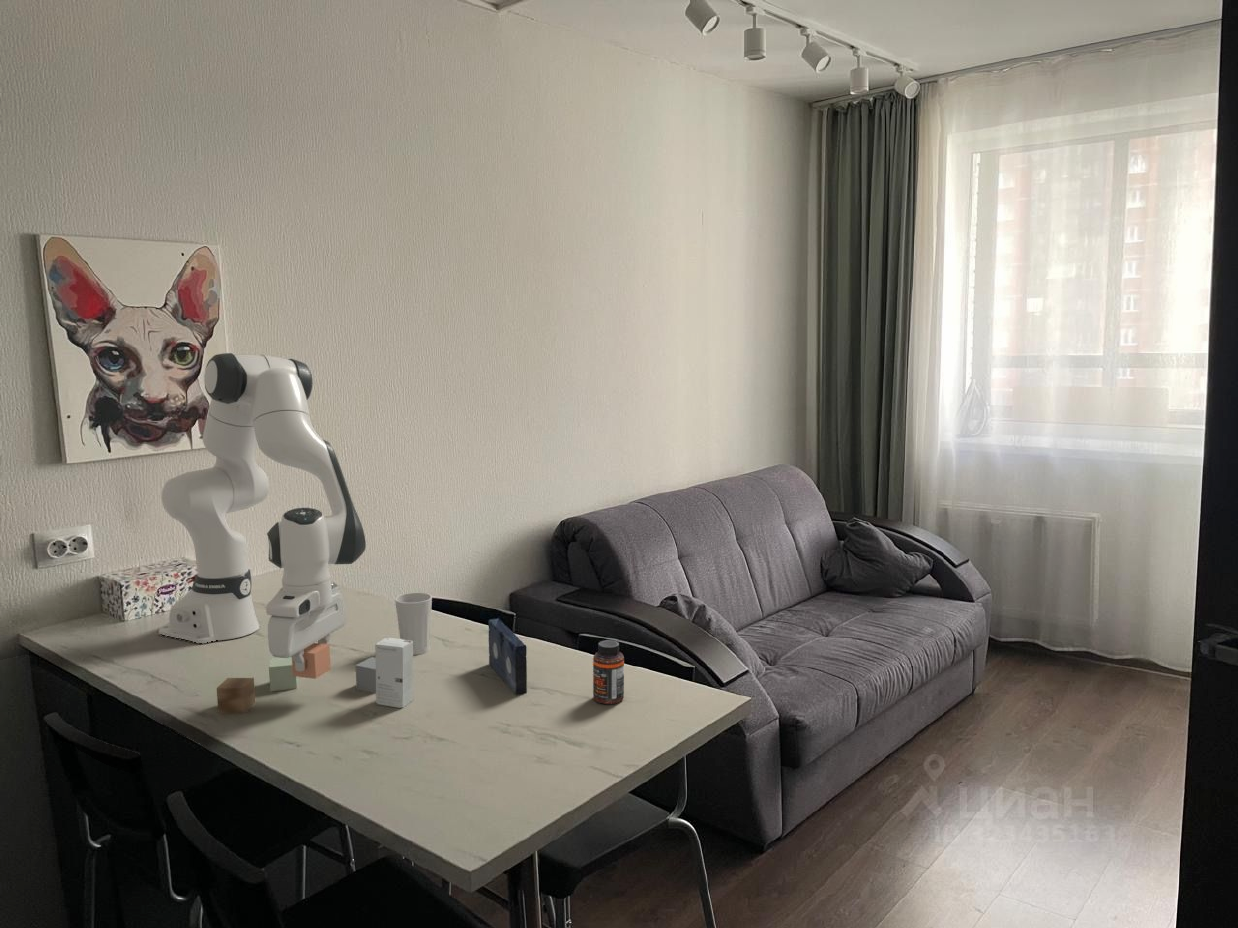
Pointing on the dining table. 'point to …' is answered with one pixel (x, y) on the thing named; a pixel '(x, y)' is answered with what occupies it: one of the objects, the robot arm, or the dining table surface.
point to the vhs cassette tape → (508, 656)
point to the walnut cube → (236, 695)
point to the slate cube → (366, 675)
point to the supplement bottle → (608, 673)
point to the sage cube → (282, 674)
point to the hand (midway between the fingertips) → (311, 663)
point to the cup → (415, 619)
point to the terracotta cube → (314, 661)
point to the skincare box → (394, 672)
